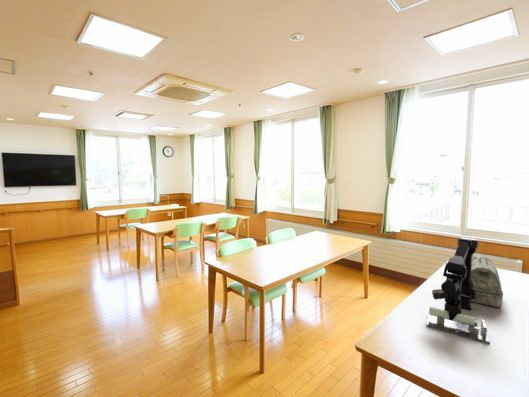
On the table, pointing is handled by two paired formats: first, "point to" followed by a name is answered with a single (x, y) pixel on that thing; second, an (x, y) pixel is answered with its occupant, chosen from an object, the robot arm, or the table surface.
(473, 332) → the saddle plate
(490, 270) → the lunch bag
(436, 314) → the tube
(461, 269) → the robot arm
